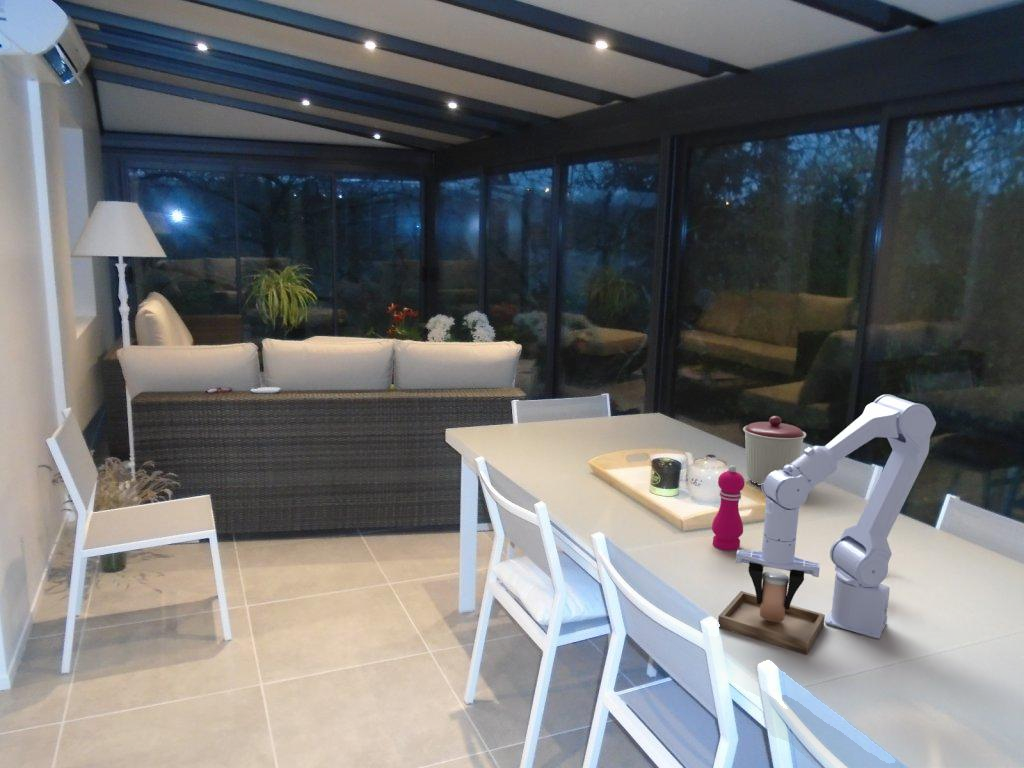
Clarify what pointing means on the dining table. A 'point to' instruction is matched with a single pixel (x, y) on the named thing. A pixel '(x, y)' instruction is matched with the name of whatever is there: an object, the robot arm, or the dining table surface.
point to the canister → (770, 447)
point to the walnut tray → (772, 624)
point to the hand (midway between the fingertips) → (773, 604)
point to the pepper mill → (728, 511)
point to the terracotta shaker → (774, 596)
